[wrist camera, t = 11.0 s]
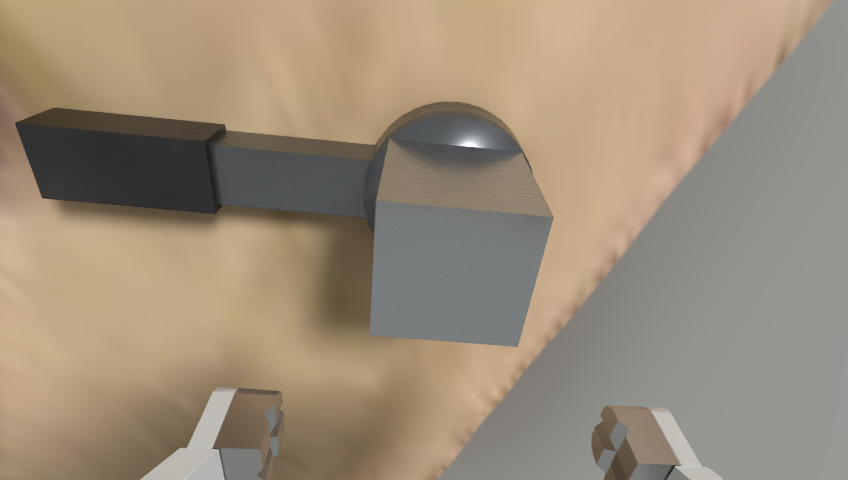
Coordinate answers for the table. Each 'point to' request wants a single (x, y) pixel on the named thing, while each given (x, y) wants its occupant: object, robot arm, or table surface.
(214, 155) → the ratchet
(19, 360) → the table surface
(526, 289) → the grey wooden cube
